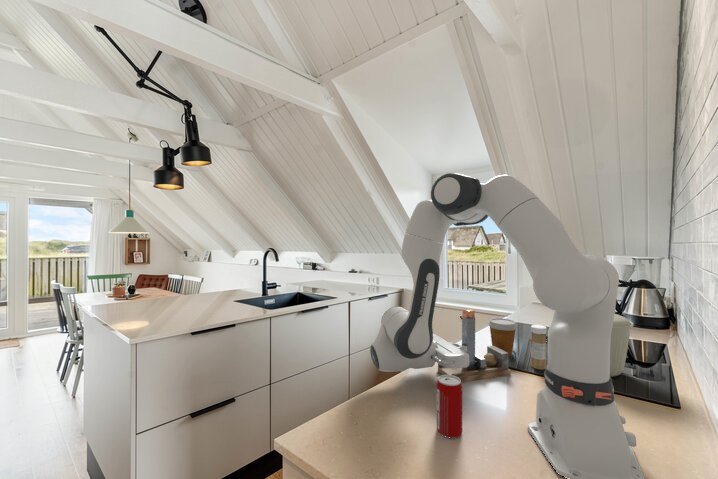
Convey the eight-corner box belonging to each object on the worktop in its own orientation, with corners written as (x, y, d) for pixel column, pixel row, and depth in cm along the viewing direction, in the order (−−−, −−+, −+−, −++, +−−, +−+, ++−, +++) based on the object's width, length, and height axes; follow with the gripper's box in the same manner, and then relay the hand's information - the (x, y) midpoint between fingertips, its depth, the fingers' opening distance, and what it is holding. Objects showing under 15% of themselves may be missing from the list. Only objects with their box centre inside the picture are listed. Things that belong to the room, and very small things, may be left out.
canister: (589, 383, 96) (589, 311, 96) (550, 359, 114) (551, 298, 114) (649, 382, 97) (650, 310, 96) (602, 358, 115) (602, 298, 114)
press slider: (469, 373, 99) (469, 313, 99) (457, 364, 106) (457, 308, 105) (485, 370, 101) (486, 312, 101) (473, 362, 107) (473, 307, 107)
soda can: (467, 437, 71) (467, 382, 71) (444, 441, 70) (444, 385, 69) (453, 423, 76) (453, 371, 76) (432, 426, 75) (432, 374, 75)
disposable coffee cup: (523, 356, 117) (523, 323, 117) (502, 360, 113) (502, 326, 113) (502, 348, 126) (502, 316, 125) (482, 351, 122) (482, 319, 122)
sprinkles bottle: (534, 363, 111) (534, 323, 111) (548, 367, 108) (549, 326, 107) (528, 366, 108) (528, 326, 108) (542, 371, 105) (543, 329, 104)
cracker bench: (453, 383, 96) (453, 361, 96) (437, 371, 105) (437, 350, 105) (510, 375, 102) (510, 354, 102) (491, 364, 111) (491, 344, 110)
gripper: (441, 353, 89) (486, 348, 92) (409, 331, 108) (447, 328, 112) (441, 376, 89) (486, 370, 92) (409, 350, 108) (447, 346, 112)
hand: (464, 347), depth 102 cm, fingers closed, pressing on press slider
